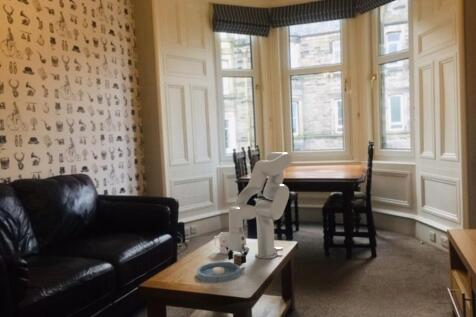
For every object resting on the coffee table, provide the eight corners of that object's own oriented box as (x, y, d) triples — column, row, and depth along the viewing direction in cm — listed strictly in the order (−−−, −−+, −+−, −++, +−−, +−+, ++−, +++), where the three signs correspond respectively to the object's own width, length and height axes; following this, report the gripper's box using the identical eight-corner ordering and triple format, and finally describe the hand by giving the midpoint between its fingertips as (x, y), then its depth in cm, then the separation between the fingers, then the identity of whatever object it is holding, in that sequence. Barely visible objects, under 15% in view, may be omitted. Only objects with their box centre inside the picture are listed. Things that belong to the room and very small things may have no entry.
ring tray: (233, 264, 218) (233, 259, 218) (244, 278, 197) (244, 273, 197) (194, 270, 212) (194, 264, 212) (201, 284, 192) (201, 279, 192)
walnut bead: (240, 262, 222) (240, 253, 221) (243, 265, 217) (242, 255, 217) (232, 263, 220) (232, 254, 220) (235, 266, 216) (234, 256, 216)
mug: (236, 250, 243) (235, 232, 242) (232, 255, 235) (231, 236, 234) (217, 249, 246) (216, 231, 246) (212, 254, 238) (211, 235, 237)
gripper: (252, 230, 214) (253, 262, 215) (229, 226, 226) (230, 256, 227) (243, 233, 209) (244, 266, 210) (220, 228, 221) (221, 259, 222)
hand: (237, 261), depth 218 cm, fingers open, 9 cm apart
